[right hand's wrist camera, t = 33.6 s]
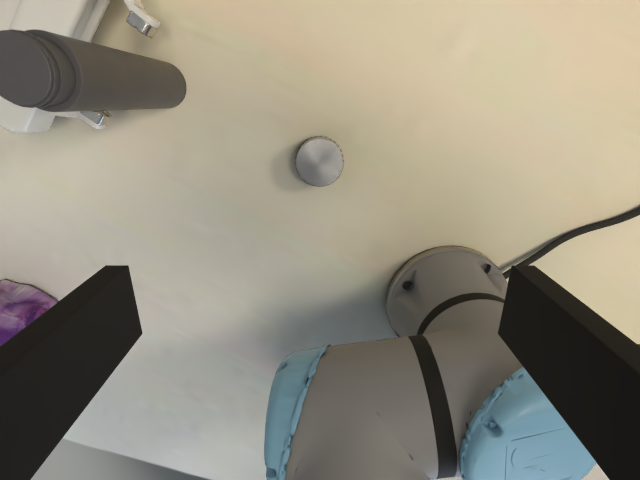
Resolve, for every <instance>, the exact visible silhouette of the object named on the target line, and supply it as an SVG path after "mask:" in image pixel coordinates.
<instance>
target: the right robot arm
mask: <svg viewBox="0 0 640 480" xmlns="http://www.w3.org/2000/svg"><path fill="white" fill-rule="evenodd" d="M638 215H640V208H638V209H636V210H634V211H631V212H629V213H627V214H624V215H622V216H619V217H616V218H613V219H609V220H606V221H602V222H599V223H595V224H592V225H588V226H585V227H582V228H579V229H577V230H574V231H572V232H569V233H567V234H565V235H563V236H561V237H559V238H558V239H556V240H554V241H553V242H551V243H550V244H548V245H547V246H545V247H544V248H542V249H541V250H540V251H538V252H537V253H535V254H534V255H532V256H530V257H529V258H527V259H526V260H524V261H522V262H521V263H519V264H517V265H516V266H512V267H511V269H509V270H508V271H506V272H504V273H503V274H502V272H501V271H500V270H499V268H498V267H497V266H496V265H495V264H494V263H493V262H492V261H490V260H489V259H488V258H487V257H486V256H484V255H483V254H481V253H479V252H477V251H475V250H473V249H469V248H466V247H460V246H443V247H437V248H433V249H430V250H427V251H425V252H422V253H420V254H418V255H417V256H415V257H413V258H412V259H410V260H409V261H408V262H407V263H405V264H404V265H403V266H402V267H401V268H400V269H399V271H398V272H397V273H396V274H395V276H394V277H393V279H392V281H391V283H390V285H389V288H388V291H387V296H386V310H387V315H388V318H389V321H390V324H391V327H392V329H393V331H394V332H395V334H396V335H397V336H398V337H397V338H392V339H384V340H376V341H368V342H360V343H352V344H344V345H336V346H331V345H330V344H326V345H324V346H322V347H321V348H315V349H310V350H305V351H299V352H295V353H292V354H290V355H289V356H287V357H286V358H285V359H284V360H283V361H282V363H281V364H280V366H279V368H278V370H277V372H276V375H275V377H274V380H273V384H272V387H271V392H270V396H269V402H268V408H267V416H266V426H265V444H264V457H265V464H266V466H267V471H266V478H267V480H431V479H438V478H447V477H458V476H462V479H463V480H581V479H582V478H583V477H584V476H586V475H587V474H588V473H589V471H590V470H591V469H592V468H593V467H594V465H595V464H596V462H597V464H598V465H599V466H600V468H601V469H602V470H603V472H604V473H605V474H606V475H607V477H608V478H609V479H610V480H640V344H636V343H635V342H633V341H632V340H631V339H629V338H628V337H627V336H625V335H624V334H623V333H622V332H620V331H619V330H618V329H616V328H615V327H614V326H612V325H611V324H610V323H608V322H607V321H606V320H605V319H603V318H602V317H601V316H599V315H598V314H597V313H595V312H594V311H593V310H591V309H590V308H589V307H588V306H586V305H585V304H584V303H582V302H581V301H580V300H578V299H577V298H576V297H574V296H573V295H572V294H571V293H569V292H568V291H567V290H565V289H564V288H563V287H561V286H560V285H559V284H558V283H556V282H555V281H554V280H552V279H551V278H550V277H548V276H547V275H546V274H544V273H543V272H542V271H541V270H539V269H538V268H537V267H535V266H528V265H529V264H531V263H533V262H534V261H536V260H538V259H539V258H541V257H542V256H544V255H545V254H546V253H548V252H549V251H551V250H552V249H554V248H555V247H557V246H558V245H560V244H562V243H563V242H565V241H567V240H569V239H571V238H574V237H576V236H578V235H581V234H584V233H587V232H590V231H593V230H597V229H600V228H604V227H607V226H611V225H614V224H618V223H620V222H623V221H626V220H629V219H631V218H634V217H636V216H638ZM508 277H509V281H508V284H507V281H506V279H507V278H508ZM141 335H142V329H141V325H140V320H139V315H138V310H137V305H136V301H135V296H134V291H133V286H132V281H131V277H130V272H129V267H128V266H105V267H103V268H102V269H101V270H99V271H98V272H97V273H96V274H94V275H93V276H92V277H90V278H89V279H88V280H86V281H85V282H84V283H82V284H81V285H80V286H79V287H77V288H76V289H75V290H73V291H72V292H71V293H69V294H68V295H67V296H66V297H64V298H63V299H62V300H60V301H59V302H58V303H56V304H55V305H54V306H52V307H51V308H50V309H49V310H47V311H46V312H45V313H43V314H42V315H41V316H39V317H38V318H37V319H35V320H34V321H33V322H32V323H30V324H29V325H28V326H26V327H25V328H24V329H22V330H21V331H20V332H18V333H17V334H16V335H15V336H13V337H12V338H11V339H9V340H8V341H7V342H5V343H4V344H3V345H1V346H0V480H30V479H31V478H32V477H33V475H34V474H35V473H36V472H37V470H38V469H39V468H40V466H41V465H42V464H43V462H44V461H45V460H46V458H47V457H48V456H49V455H50V453H51V452H52V451H53V449H54V448H55V447H56V445H57V444H58V443H59V442H60V440H61V439H62V438H63V436H64V435H65V434H66V432H67V431H68V430H69V428H70V427H71V426H72V425H73V423H74V422H75V421H76V419H77V418H78V417H79V415H80V414H81V413H82V412H83V410H84V409H85V408H86V406H87V405H88V404H89V402H90V401H91V400H92V398H93V397H94V396H95V395H96V393H97V392H98V391H99V389H100V388H101V387H102V385H103V384H104V383H105V382H106V380H107V379H108V378H109V376H110V375H111V374H112V372H113V371H114V370H115V368H116V367H117V366H118V365H119V363H120V362H121V361H122V359H123V358H124V357H125V355H126V354H127V353H128V352H129V350H130V349H131V348H132V346H133V345H134V344H135V342H136V341H137V340H138V338H139V337H140V336H141Z"/></svg>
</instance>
